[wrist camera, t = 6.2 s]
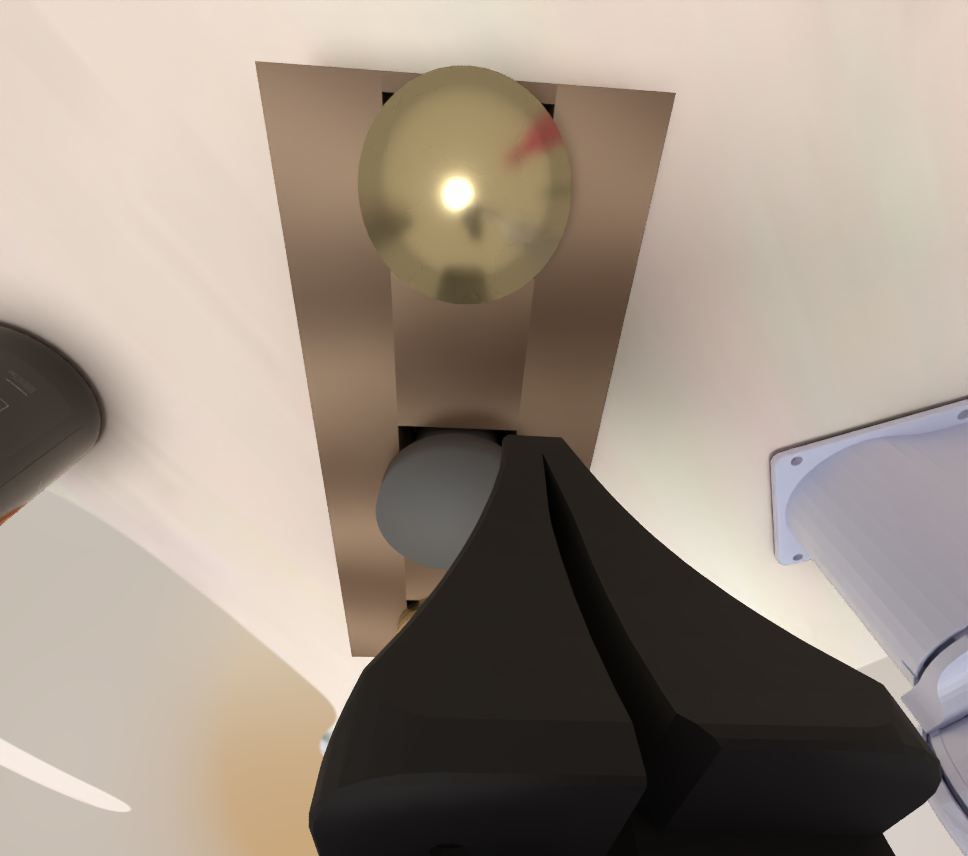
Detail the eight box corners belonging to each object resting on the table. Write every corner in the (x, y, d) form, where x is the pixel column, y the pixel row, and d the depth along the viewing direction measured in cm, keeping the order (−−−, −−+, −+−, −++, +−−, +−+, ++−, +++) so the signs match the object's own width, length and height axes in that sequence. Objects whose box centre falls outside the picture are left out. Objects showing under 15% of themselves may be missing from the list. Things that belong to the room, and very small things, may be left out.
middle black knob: (393, 380, 18) (369, 451, 14) (526, 385, 18) (540, 457, 14) (398, 483, 21) (380, 568, 17) (513, 487, 21) (523, 572, 17)
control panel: (307, 78, 14) (255, 61, 11) (629, 102, 15) (675, 92, 11) (367, 591, 27) (352, 656, 24) (537, 595, 27) (546, 659, 24)
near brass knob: (384, 78, 14) (347, 56, 10) (556, 91, 14) (589, 75, 10) (392, 258, 17) (366, 299, 13) (536, 266, 17) (555, 309, 13)
